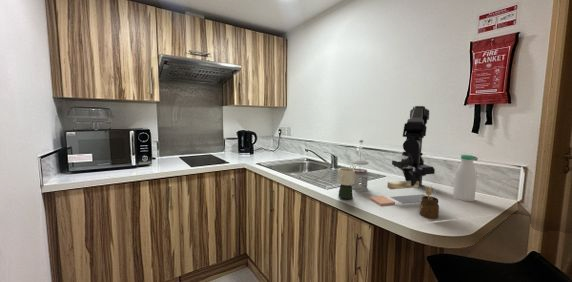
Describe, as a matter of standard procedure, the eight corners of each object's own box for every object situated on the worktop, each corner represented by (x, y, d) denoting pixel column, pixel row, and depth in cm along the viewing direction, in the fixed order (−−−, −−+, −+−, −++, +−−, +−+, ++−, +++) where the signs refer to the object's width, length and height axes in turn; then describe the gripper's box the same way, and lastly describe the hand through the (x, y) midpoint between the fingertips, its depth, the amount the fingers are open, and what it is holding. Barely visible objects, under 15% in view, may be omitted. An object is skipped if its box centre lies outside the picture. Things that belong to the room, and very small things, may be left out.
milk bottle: (478, 203, 99) (483, 157, 97) (457, 201, 101) (462, 156, 99) (468, 196, 107) (473, 154, 104) (449, 195, 108) (453, 153, 106)
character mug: (343, 193, 110) (344, 166, 108) (357, 196, 105) (359, 168, 104) (332, 199, 101) (333, 170, 100) (347, 203, 97) (349, 173, 95)
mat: (423, 195, 108) (423, 194, 108) (437, 201, 101) (437, 200, 100) (389, 197, 104) (390, 196, 104) (402, 204, 96) (402, 203, 96)
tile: (382, 195, 103) (369, 196, 101) (395, 202, 95) (380, 203, 94) (382, 199, 103) (368, 200, 102) (394, 206, 96) (380, 207, 94)
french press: (373, 190, 114) (376, 140, 111) (356, 193, 109) (358, 141, 106) (359, 185, 123) (361, 138, 120) (342, 187, 117) (344, 139, 115)
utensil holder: (439, 216, 85) (442, 185, 84) (435, 221, 81) (438, 188, 79) (422, 211, 89) (424, 181, 88) (416, 216, 85) (419, 184, 84)
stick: (414, 185, 103) (415, 180, 103) (418, 187, 101) (419, 181, 101) (387, 187, 100) (387, 182, 100) (390, 189, 98) (391, 184, 98)
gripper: (382, 147, 107) (380, 180, 109) (413, 154, 89) (410, 193, 90) (403, 146, 109) (401, 178, 111) (437, 153, 91) (433, 191, 93)
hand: (410, 185), depth 101 cm, fingers closed on stick, 2 cm apart
